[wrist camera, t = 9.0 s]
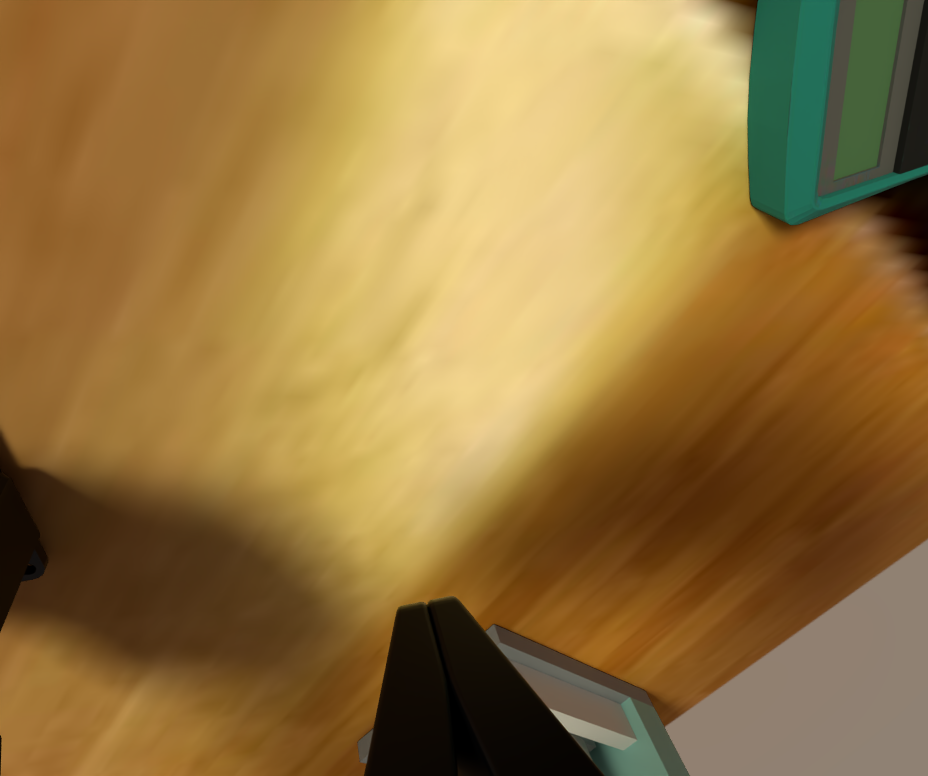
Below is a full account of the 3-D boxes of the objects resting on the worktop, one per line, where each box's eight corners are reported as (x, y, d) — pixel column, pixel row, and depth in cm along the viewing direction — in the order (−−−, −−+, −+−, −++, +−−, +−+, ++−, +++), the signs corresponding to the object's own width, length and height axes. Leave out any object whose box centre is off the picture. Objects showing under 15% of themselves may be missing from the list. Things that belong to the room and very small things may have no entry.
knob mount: (357, 742, 32) (373, 879, 27) (494, 624, 30) (537, 751, 25) (524, 783, 39) (560, 898, 34) (645, 691, 37) (702, 800, 32)
